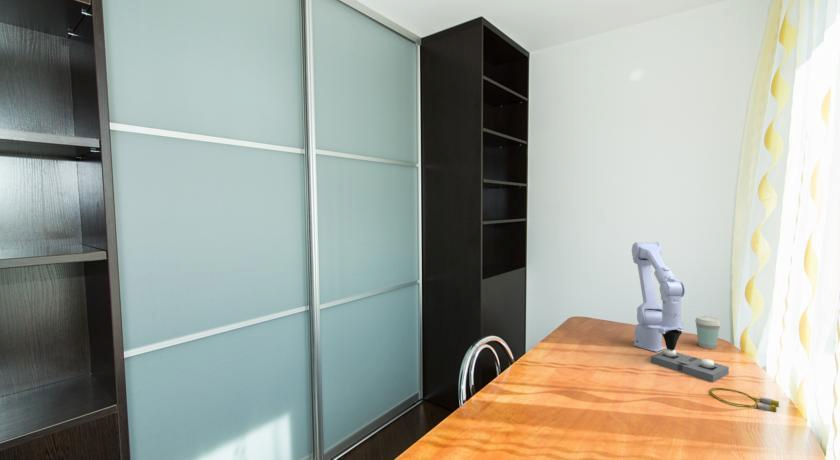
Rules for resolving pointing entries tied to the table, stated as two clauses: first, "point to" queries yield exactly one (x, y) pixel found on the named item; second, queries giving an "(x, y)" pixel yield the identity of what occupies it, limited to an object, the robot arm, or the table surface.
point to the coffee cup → (707, 331)
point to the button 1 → (670, 352)
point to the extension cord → (760, 406)
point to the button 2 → (707, 363)
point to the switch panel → (691, 366)
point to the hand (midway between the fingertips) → (670, 349)
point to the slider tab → (684, 359)
